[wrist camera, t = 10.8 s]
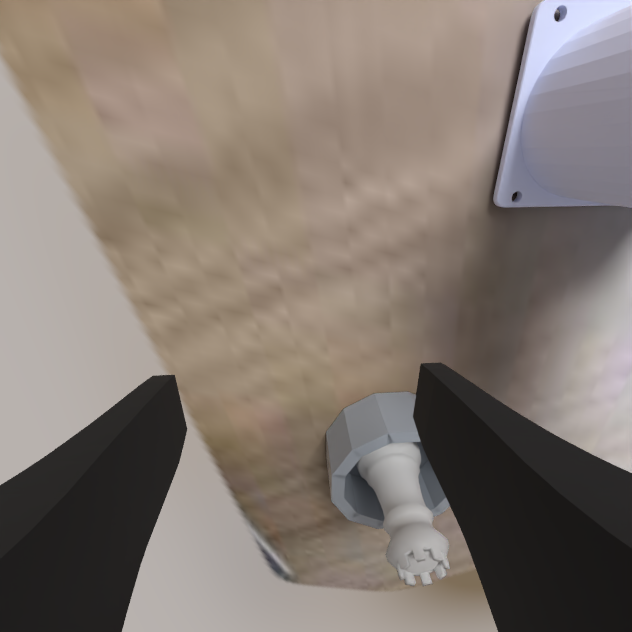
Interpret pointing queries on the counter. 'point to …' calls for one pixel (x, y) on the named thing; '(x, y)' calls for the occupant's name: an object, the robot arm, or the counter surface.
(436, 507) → the grey faceted bowl
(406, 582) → the rook chess piece
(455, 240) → the counter surface
